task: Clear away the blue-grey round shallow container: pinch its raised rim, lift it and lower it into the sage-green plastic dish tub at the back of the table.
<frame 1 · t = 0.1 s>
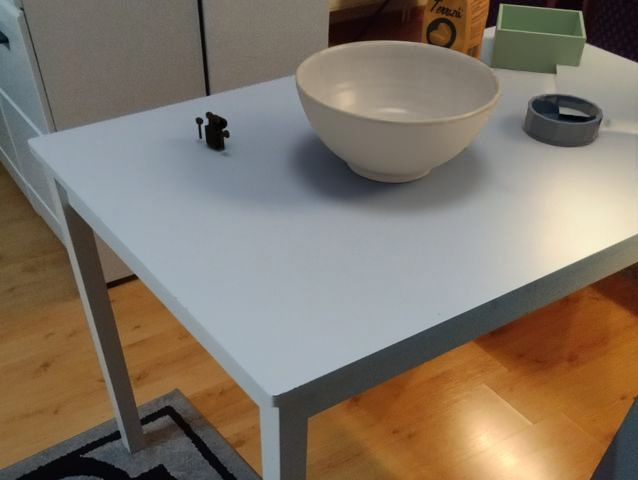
blue-grey round shallow container: (559, 130, 106), on the table
coffee package: (447, 72, 122), on the table
decorative bowl: (389, 162, 97), on the table
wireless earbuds: (217, 147, 99), on the table
tub: (532, 56, 128), on the table
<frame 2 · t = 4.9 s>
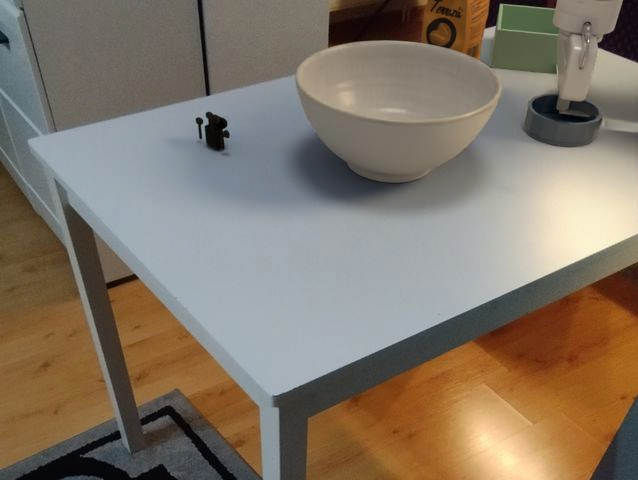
hand: (561, 105, 108), 2 cm above the table, tool pointing down, fingers closed on blue-grey round shallow container
blue-grey round shallow container: (559, 130, 106), on the table, touching gripper
everything else where it was.
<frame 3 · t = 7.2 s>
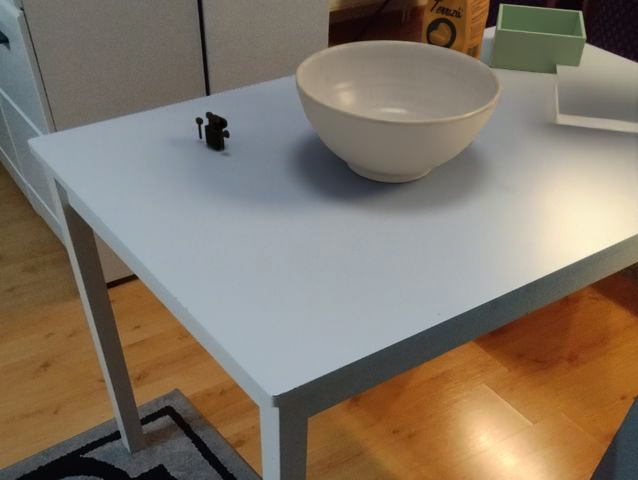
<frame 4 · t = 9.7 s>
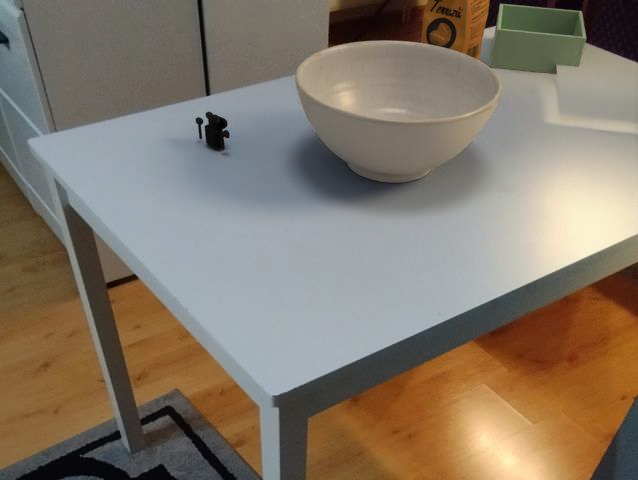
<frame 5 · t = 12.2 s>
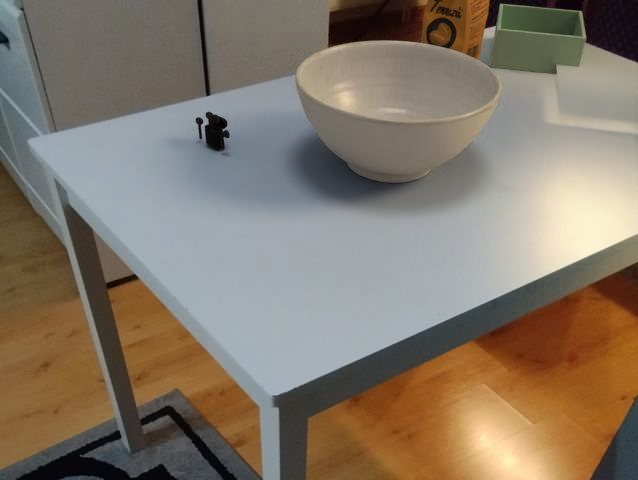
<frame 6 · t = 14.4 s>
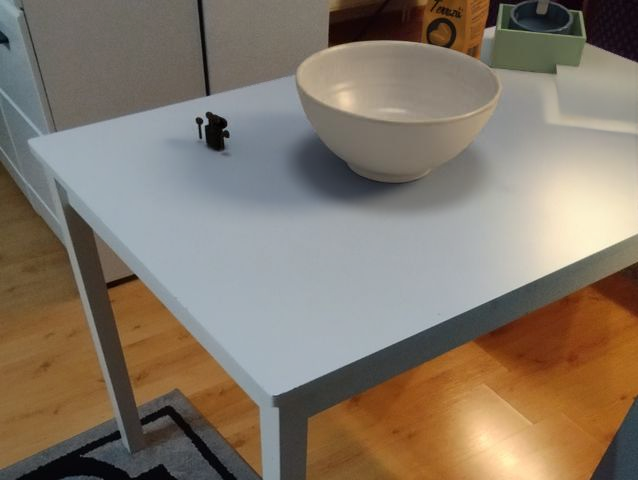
hand: (540, 11, 127), 7 cm above the table, tool pointing down, fingers closed on blue-grey round shallow container
blue-grey round shallow container: (537, 34, 126), point 4 cm above the table, tilted 11°, touching gripper
everything else where it was.
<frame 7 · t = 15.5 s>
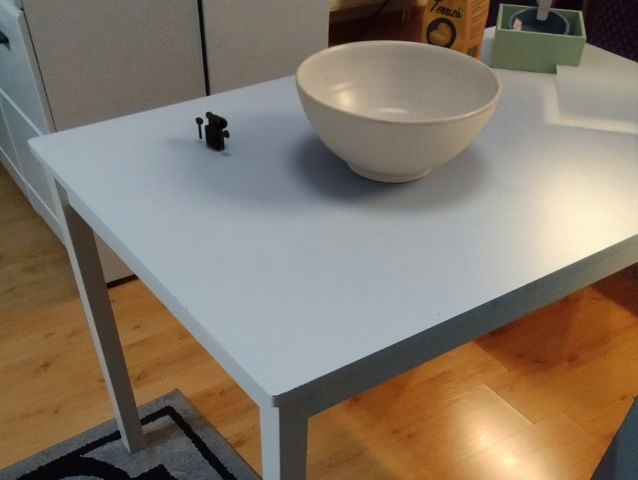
hand: (540, 11, 127), 7 cm above the table, tool pointing down, fingers open, 8 cm apart
blue-grey round shallow container: (534, 42, 128), point 2 cm above the table, tilted 16°, touching tub
everything else where it was.
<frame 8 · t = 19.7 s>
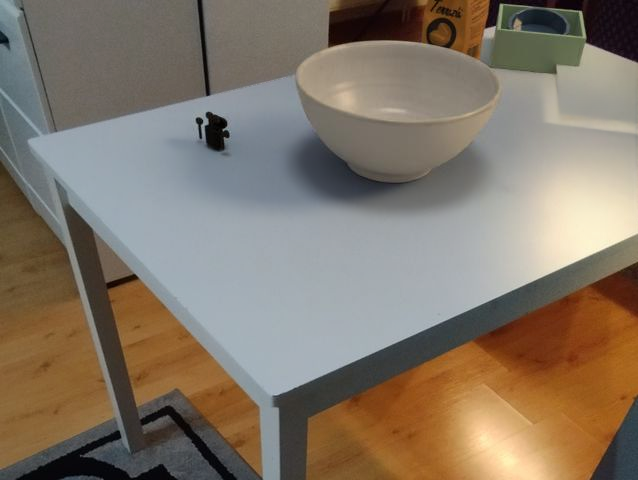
nothing on the table moved.
at the end: blue-grey round shallow container inside the target area in the tub (1.7 cm from its centre), point 2.0 cm above the tub's base; the gripper is holding nothing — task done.
